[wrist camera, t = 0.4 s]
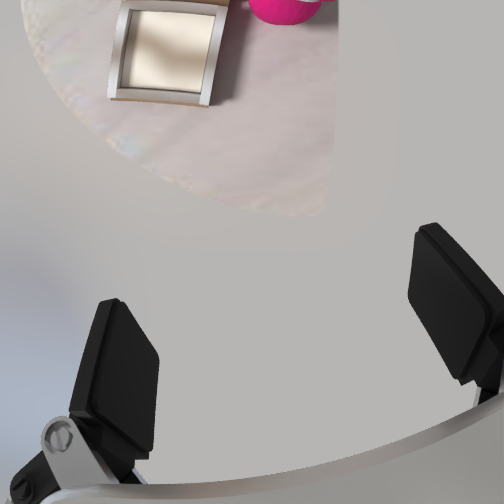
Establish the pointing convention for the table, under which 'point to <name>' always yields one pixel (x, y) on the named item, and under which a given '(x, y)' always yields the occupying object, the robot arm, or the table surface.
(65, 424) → the robot arm
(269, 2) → the pepper mill
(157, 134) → the table surface
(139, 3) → the rail
